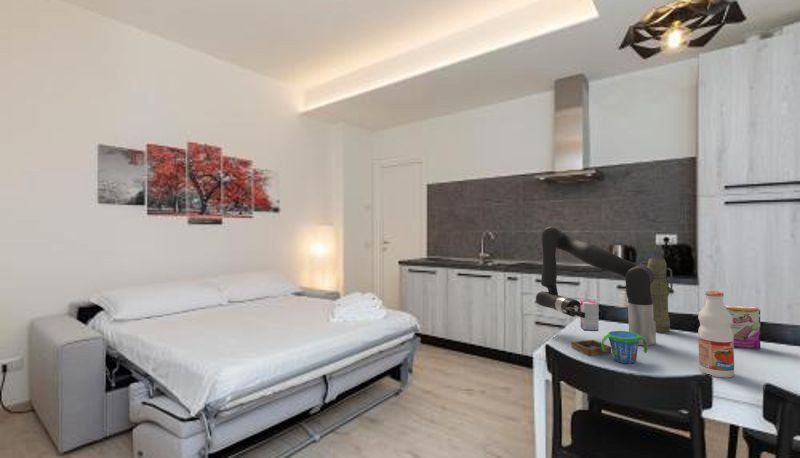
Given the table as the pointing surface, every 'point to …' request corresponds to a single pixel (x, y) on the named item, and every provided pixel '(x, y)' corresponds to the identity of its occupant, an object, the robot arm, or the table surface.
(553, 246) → the robot arm
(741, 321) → the candy bar box
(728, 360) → the fruit juice
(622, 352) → the snack cup
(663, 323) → the thermos
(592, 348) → the wooden square frame
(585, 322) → the supplement box
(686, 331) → the table surface
